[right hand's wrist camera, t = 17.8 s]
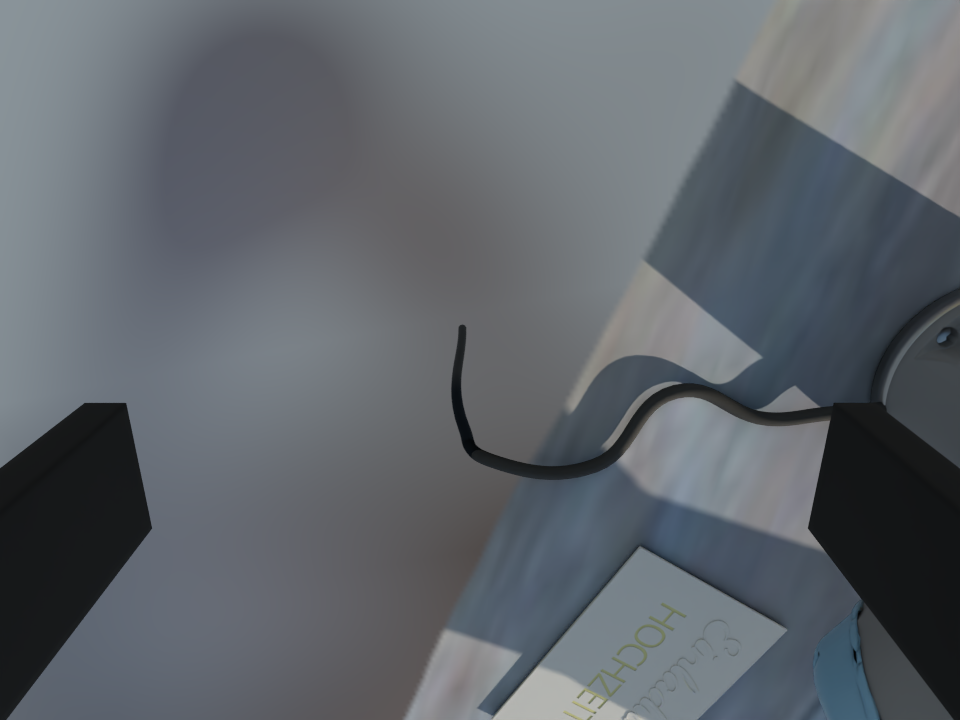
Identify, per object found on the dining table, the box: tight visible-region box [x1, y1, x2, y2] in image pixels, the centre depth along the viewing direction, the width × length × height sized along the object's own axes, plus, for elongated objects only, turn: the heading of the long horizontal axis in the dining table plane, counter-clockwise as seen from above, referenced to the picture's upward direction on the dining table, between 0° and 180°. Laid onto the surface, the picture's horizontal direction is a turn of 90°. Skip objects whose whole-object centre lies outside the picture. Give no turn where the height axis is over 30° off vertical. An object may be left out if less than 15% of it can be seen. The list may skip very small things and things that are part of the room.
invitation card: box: [492, 546, 787, 720], centre depth 57 cm, size 21×1×15 cm
